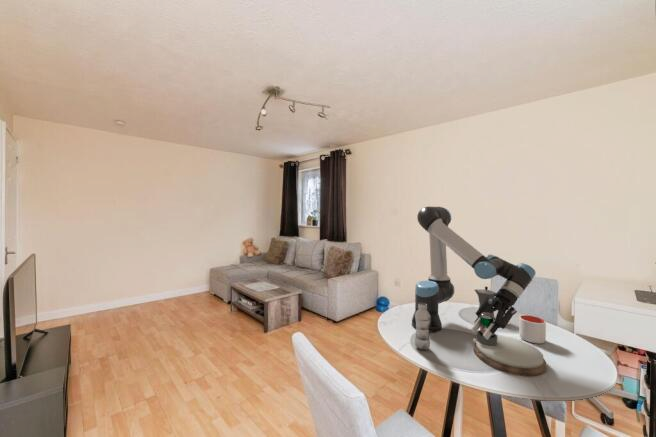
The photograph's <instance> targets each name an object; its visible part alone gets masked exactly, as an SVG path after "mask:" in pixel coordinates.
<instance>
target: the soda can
mask: <svg viewBox="0 0 656 437" xmlns="http://www.w3.org/2000/svg"><path fill="white" fill-rule="evenodd" d="M494 317H495V316H494ZM494 317H493V315H492V314H491V313H488V312H482V313H481V315H480V328H479V329H480V335H481V336H483V334H484V333H485V331H486V330H487V329H488V327H489V326H490V325H491V323H492V324H494V323H493V322H495V319H494ZM494 334H495V333H494ZM494 334H493V333H492V335H491V336H490V337H489V338H493V337H494Z"/></svg>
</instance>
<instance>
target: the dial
mask: <svg viewBox="0 0 656 437" xmlns="http://www.w3.org/2000/svg"><path fill="white" fill-rule="evenodd" d="M475 334H476V335H475V337H474V338H473V340H472V342H473V343H474V344H475V343H476V347H477V349H478V350H479V352H480V353H482V354H483V355H484V356H486V357H488V358H489V359H491V360H494V361H496V362H498V363H501V364H504V365H508V366H512V367H516V368H524V369H533V368H538V367H540V366H542V365H543V358H544V354H543V353H542V351H541V350H539V349H538V348H537V347H535V346H533V345H531V344H530V343H529V342H528V343H527V342H525V341H523V340H520V339H517V338H513V337H509V336H506V335H498V334H496V333H494V337H493V338H489V339H488V340H487V339H486V338H485V337H484V336H481V335H480V330H479V329H478V330H477V332H476V333H475Z"/></svg>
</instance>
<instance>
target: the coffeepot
mask: <svg viewBox="0 0 656 437" xmlns="http://www.w3.org/2000/svg"><path fill="white" fill-rule="evenodd" d="M488 288H489V287H488V286H484V289H477V288H476V289H474V292H475V293H476V294H477V297H478V303H479V305H478V309H479V308H480V307H481V306H482V304H483V303H484V302H485V300H486V298H489V299H493V298H495V297H496V293H497V292H495V291H493V290H489V289H488ZM494 312H495V311H494ZM494 312H492V313H491V314H492V315H493V317H494V320H495V319H496V316H495V313H494Z"/></svg>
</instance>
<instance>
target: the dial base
mask: <svg viewBox="0 0 656 437" xmlns="http://www.w3.org/2000/svg"><path fill="white" fill-rule="evenodd" d="M473 353H474V354H475V357H477V358H478V359H479V360H480V361H481V362H483V363H485V364H486V365H488V366H489V367H491V368H493V369H496V370H499V371H501V372H505V373H507V374H511V375H517V376H521V377H523V376H524V377H537V376H541V375H544V374H545V373H546V371H547V361H546V359H545V358H544V357H543V365H542V366H540V367H538V368H533V369H524V368H516V367H512V366H508V365H504V364H501V363H498V362H496V361H494V360H491V359H489V358H488V357H486V356H484V355H483V354H482V353H480V352H479V350H478V349H477V347H476V343H475V342H474V344H473Z"/></svg>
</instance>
